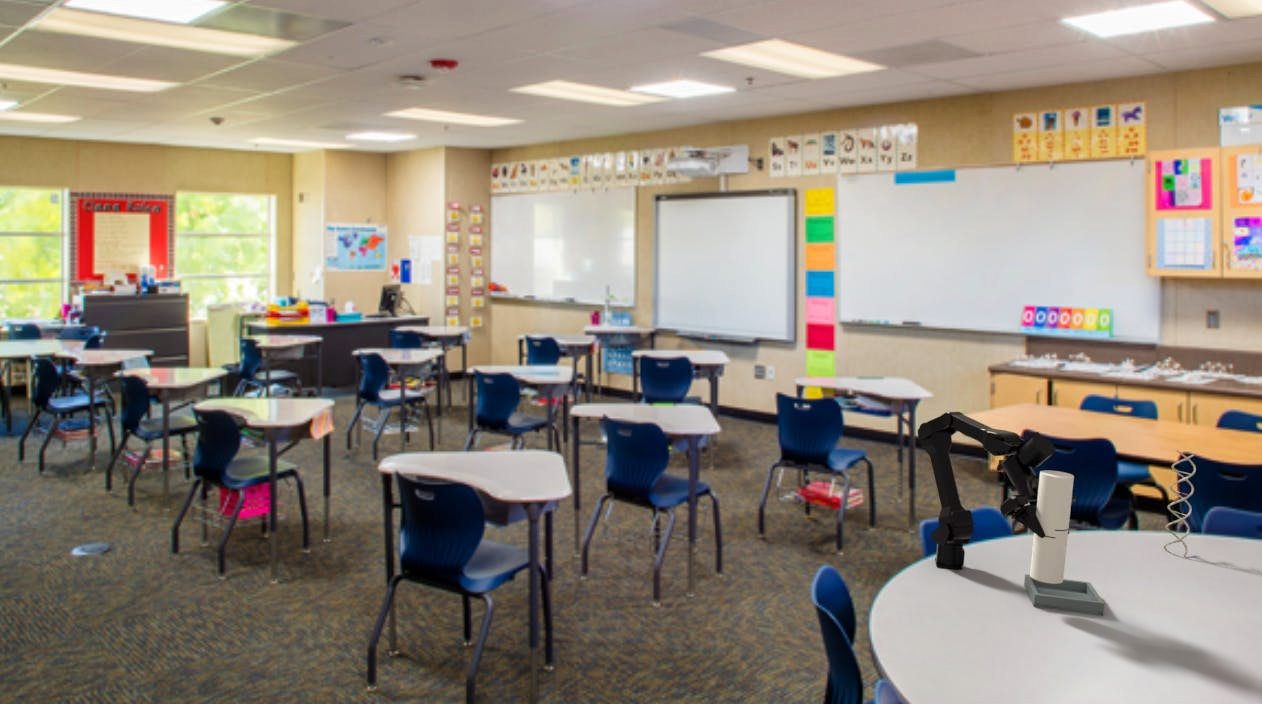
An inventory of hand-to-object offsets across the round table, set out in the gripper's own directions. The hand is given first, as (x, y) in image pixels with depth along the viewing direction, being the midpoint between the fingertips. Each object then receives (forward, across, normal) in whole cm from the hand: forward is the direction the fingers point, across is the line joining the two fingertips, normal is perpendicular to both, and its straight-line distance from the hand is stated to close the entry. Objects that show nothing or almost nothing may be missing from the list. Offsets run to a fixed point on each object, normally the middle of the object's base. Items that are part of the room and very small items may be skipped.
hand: (1055, 536), depth 206 cm
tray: (+10, +9, +16) cm, 21 cm away
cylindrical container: (+7, 0, +9) cm, 11 cm away
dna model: (-3, +75, +30) cm, 80 cm away
